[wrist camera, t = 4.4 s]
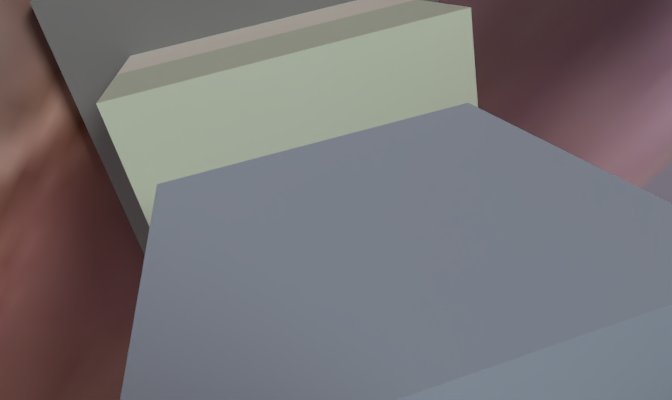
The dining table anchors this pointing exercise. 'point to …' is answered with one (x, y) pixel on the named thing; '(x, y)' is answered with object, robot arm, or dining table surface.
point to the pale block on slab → (247, 78)
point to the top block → (406, 273)
